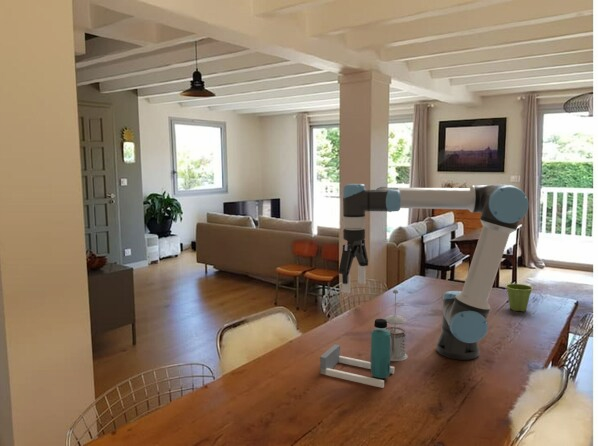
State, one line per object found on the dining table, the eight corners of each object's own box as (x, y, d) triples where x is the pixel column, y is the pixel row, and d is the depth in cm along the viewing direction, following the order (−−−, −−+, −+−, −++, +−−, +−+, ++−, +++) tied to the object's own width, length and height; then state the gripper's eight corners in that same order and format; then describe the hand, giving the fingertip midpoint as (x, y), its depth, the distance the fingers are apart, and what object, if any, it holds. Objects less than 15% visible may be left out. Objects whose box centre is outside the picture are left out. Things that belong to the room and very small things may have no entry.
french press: (409, 352, 176) (410, 287, 173) (405, 364, 165) (407, 295, 162) (382, 348, 179) (384, 285, 176) (377, 361, 168) (378, 293, 165)
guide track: (394, 372, 159) (394, 355, 158) (382, 388, 148) (383, 370, 147) (334, 360, 169) (335, 344, 169) (320, 373, 158) (320, 356, 158)
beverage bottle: (390, 383, 151) (391, 323, 149) (369, 381, 153) (370, 322, 150) (390, 374, 158) (391, 317, 155) (370, 372, 159) (371, 316, 156)
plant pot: (532, 308, 228) (534, 285, 226) (529, 314, 218) (531, 291, 216) (506, 304, 234) (507, 282, 232) (502, 310, 224) (503, 287, 222)
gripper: (358, 223, 175) (358, 278, 178) (328, 232, 154) (328, 295, 157) (377, 224, 172) (377, 281, 174) (349, 234, 150) (349, 298, 153)
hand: (354, 287), depth 165 cm, fingers open, 13 cm apart
